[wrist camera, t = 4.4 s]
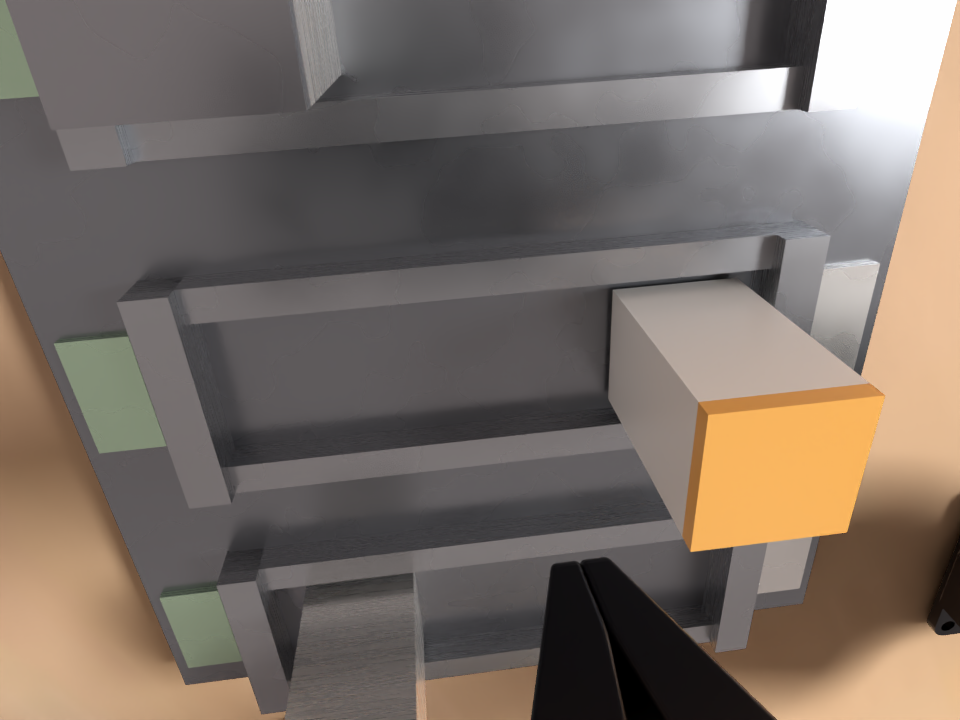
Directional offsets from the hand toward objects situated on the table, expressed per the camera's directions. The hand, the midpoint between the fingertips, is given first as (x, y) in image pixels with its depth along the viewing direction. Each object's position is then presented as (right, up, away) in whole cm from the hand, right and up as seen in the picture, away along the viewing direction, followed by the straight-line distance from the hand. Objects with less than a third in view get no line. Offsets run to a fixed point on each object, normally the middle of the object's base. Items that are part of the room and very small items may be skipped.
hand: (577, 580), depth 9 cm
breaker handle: (+3, +4, +7) cm, 8 cm away
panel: (-1, +4, +7) cm, 8 cm away
